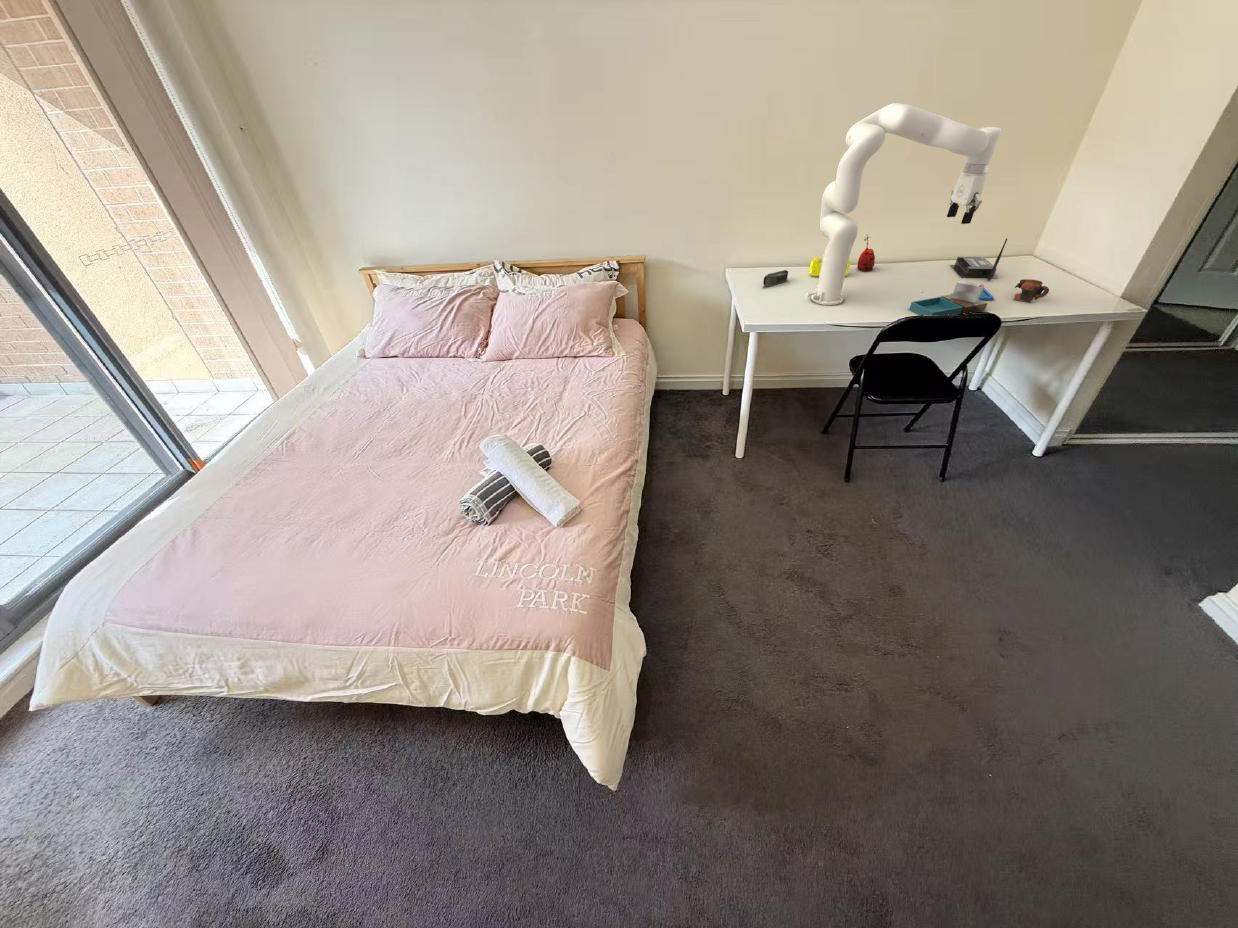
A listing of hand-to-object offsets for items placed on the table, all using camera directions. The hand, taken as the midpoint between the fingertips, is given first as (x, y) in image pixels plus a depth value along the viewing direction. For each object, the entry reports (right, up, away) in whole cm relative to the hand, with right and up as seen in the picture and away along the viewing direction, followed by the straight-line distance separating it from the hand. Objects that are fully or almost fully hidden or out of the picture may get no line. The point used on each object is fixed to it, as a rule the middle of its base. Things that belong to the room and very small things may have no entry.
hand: (958, 220), depth 187 cm
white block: (+4, -30, +2) cm, 30 cm away
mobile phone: (-60, -13, +33) cm, 70 cm away
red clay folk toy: (-16, -3, +40) cm, 43 cm away
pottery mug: (+32, -28, +6) cm, 43 cm away
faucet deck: (+4, -32, +4) cm, 32 cm away
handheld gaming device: (+16, -23, +13) cm, 31 cm away
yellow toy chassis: (-34, -7, +37) cm, 51 cm away
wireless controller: (+28, -9, +29) cm, 41 cm away
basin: (-8, -35, +2) cm, 36 cm away
